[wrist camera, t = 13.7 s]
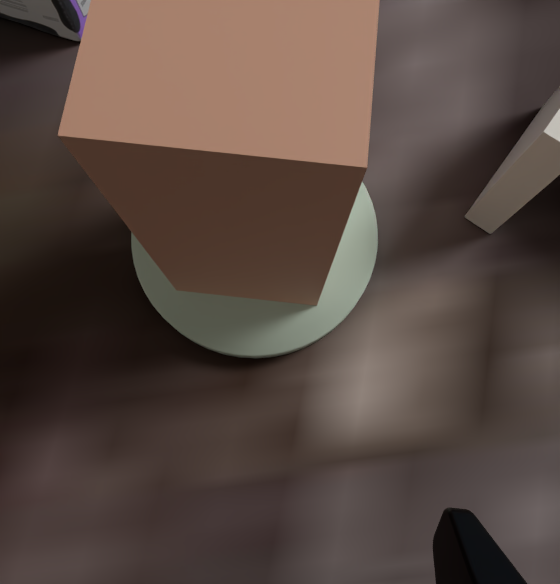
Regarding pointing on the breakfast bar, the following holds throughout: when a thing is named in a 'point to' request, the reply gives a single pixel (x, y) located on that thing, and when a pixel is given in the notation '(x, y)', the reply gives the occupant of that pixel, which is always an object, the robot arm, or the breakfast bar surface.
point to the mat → (264, 313)
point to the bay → (522, 170)
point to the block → (228, 134)
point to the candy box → (49, 15)
